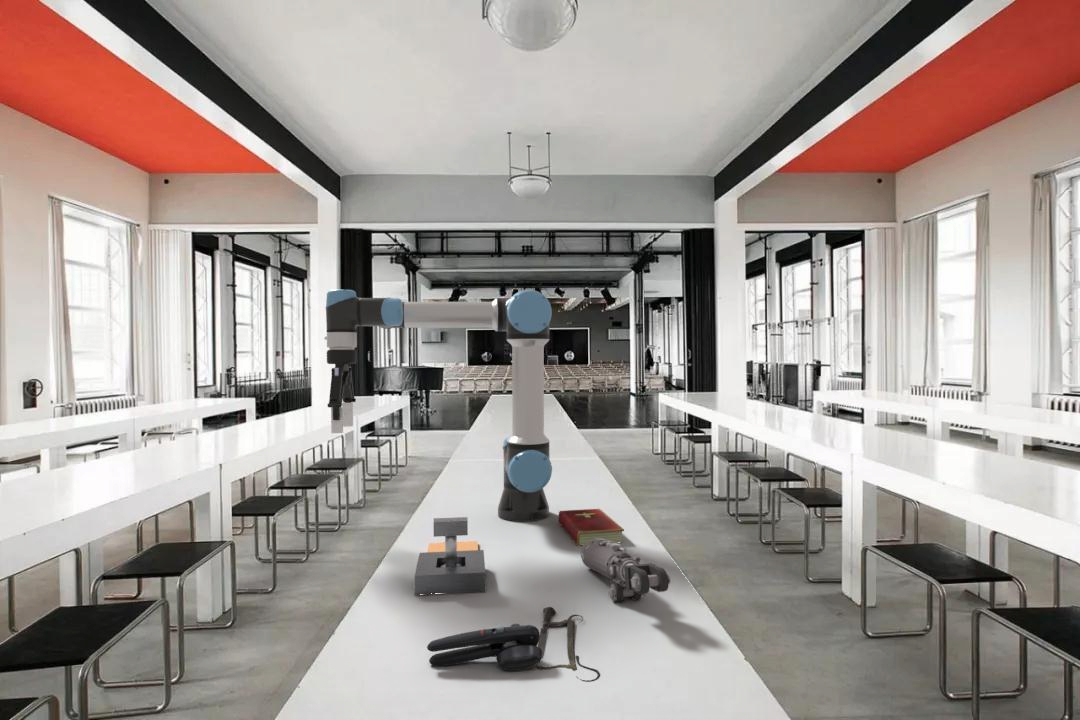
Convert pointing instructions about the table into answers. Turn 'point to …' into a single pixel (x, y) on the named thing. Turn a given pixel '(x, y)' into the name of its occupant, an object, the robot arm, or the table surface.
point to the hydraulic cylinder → (623, 570)
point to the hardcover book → (589, 526)
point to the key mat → (460, 546)
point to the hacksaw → (570, 641)
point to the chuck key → (450, 536)
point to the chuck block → (450, 573)
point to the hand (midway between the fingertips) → (342, 429)
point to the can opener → (491, 647)
